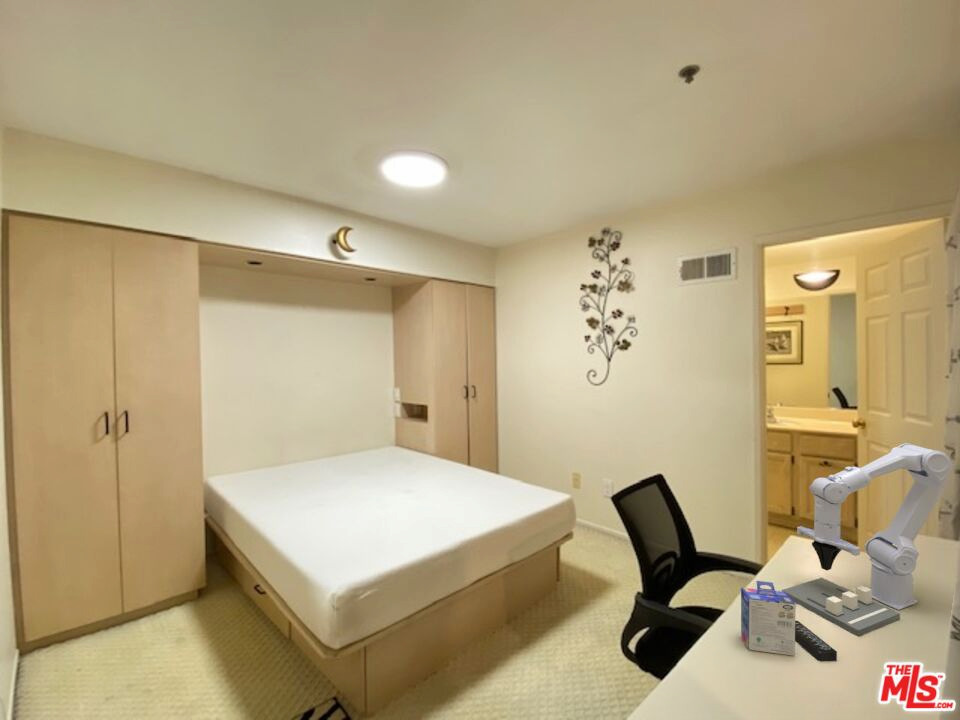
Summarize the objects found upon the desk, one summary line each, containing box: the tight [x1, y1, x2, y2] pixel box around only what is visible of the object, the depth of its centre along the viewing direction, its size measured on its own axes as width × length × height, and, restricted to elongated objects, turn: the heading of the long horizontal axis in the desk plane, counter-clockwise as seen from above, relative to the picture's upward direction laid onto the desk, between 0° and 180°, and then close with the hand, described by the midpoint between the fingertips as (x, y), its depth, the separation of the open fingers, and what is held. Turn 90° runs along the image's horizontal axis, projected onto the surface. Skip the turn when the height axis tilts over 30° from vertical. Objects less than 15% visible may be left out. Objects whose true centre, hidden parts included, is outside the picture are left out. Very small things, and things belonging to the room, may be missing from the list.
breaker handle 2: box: [855, 585, 875, 605], centre depth 113 cm, size 3×3×3 cm
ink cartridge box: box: [740, 580, 797, 657], centre depth 98 cm, size 10×6×14 cm, turn 78°
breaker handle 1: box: [824, 596, 844, 616], centre depth 108 cm, size 3×3×3 cm
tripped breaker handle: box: [842, 590, 860, 610], centre depth 110 cm, size 3×3×3 cm
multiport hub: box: [795, 620, 838, 662], centre depth 99 cm, size 4×11×2 cm, turn 4°
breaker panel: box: [781, 577, 901, 637], centre depth 113 cm, size 18×18×2 cm
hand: (826, 568), depth 118 cm, fingers closed
